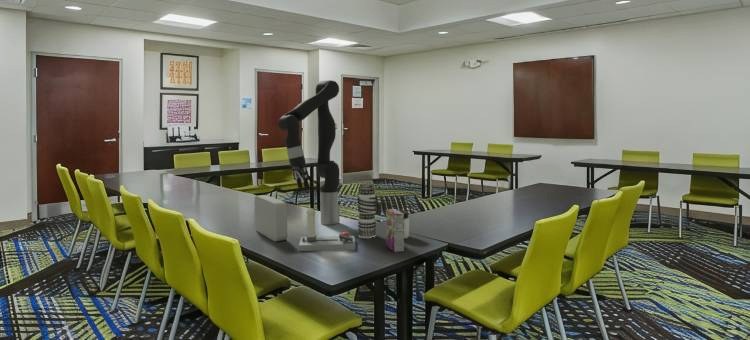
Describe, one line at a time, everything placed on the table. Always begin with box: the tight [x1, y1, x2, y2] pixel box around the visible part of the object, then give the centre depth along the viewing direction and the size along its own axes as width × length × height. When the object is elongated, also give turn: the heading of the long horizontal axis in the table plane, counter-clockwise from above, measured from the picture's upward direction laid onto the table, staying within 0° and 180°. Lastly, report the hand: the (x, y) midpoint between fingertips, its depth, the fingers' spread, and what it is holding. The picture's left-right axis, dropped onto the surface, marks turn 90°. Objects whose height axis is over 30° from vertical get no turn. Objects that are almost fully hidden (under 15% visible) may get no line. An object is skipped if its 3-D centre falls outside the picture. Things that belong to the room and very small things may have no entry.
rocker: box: [338, 233, 353, 241], centre depth 204 cm, size 6×4×2 cm, turn 95°
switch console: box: [298, 235, 356, 252], centre depth 208 cm, size 24×14×4 cm, turn 94°
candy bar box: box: [385, 208, 405, 253], centre depth 202 cm, size 11×5×16 cm, turn 17°
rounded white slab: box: [254, 194, 288, 243], centre depth 226 cm, size 29×8×18 cm, turn 34°
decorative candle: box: [357, 183, 377, 239], centre depth 223 cm, size 9×9×25 cm
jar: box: [397, 209, 410, 240], centre depth 222 cm, size 9×8×12 cm
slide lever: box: [306, 207, 317, 241], centre depth 206 cm, size 4×4×14 cm
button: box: [341, 231, 351, 237], centre depth 212 cm, size 4×4×2 cm
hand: (303, 188), depth 230 cm, fingers open, 8 cm apart
